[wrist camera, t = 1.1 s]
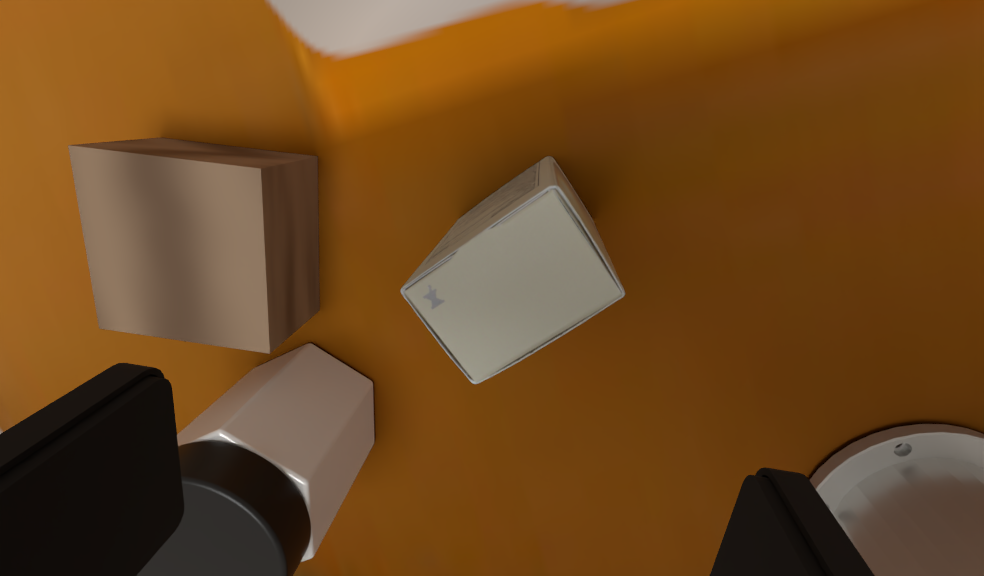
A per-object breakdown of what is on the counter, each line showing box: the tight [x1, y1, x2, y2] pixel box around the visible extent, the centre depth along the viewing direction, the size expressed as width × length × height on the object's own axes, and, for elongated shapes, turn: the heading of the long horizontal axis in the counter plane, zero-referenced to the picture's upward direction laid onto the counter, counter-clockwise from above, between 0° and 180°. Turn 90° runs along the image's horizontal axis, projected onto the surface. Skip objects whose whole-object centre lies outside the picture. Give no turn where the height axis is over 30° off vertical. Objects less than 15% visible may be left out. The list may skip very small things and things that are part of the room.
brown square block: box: [68, 138, 320, 354], centre depth 27 cm, size 9×9×6 cm
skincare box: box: [401, 156, 625, 384], centre depth 22 cm, size 6×4×12 cm
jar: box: [137, 343, 375, 576], centre depth 28 cm, size 9×8×12 cm
